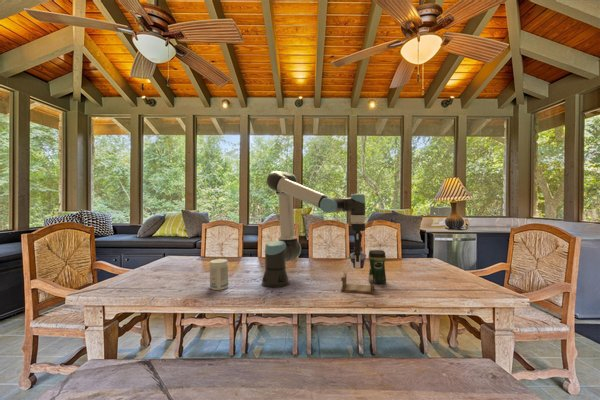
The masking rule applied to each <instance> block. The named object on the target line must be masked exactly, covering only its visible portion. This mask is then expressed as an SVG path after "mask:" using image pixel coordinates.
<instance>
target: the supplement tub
mask: <svg viewBox="0 0 600 400" xmlns="http://www.w3.org/2000/svg"><path fill="white" fill-rule="evenodd" d="M228 262H229V261H228V259H226V258H225V259H224V258H217V259H212V260H210V261H209V289H211V290H214V291H222V290H226V289H227V288H228V287H229V264H228Z"/></svg>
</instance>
